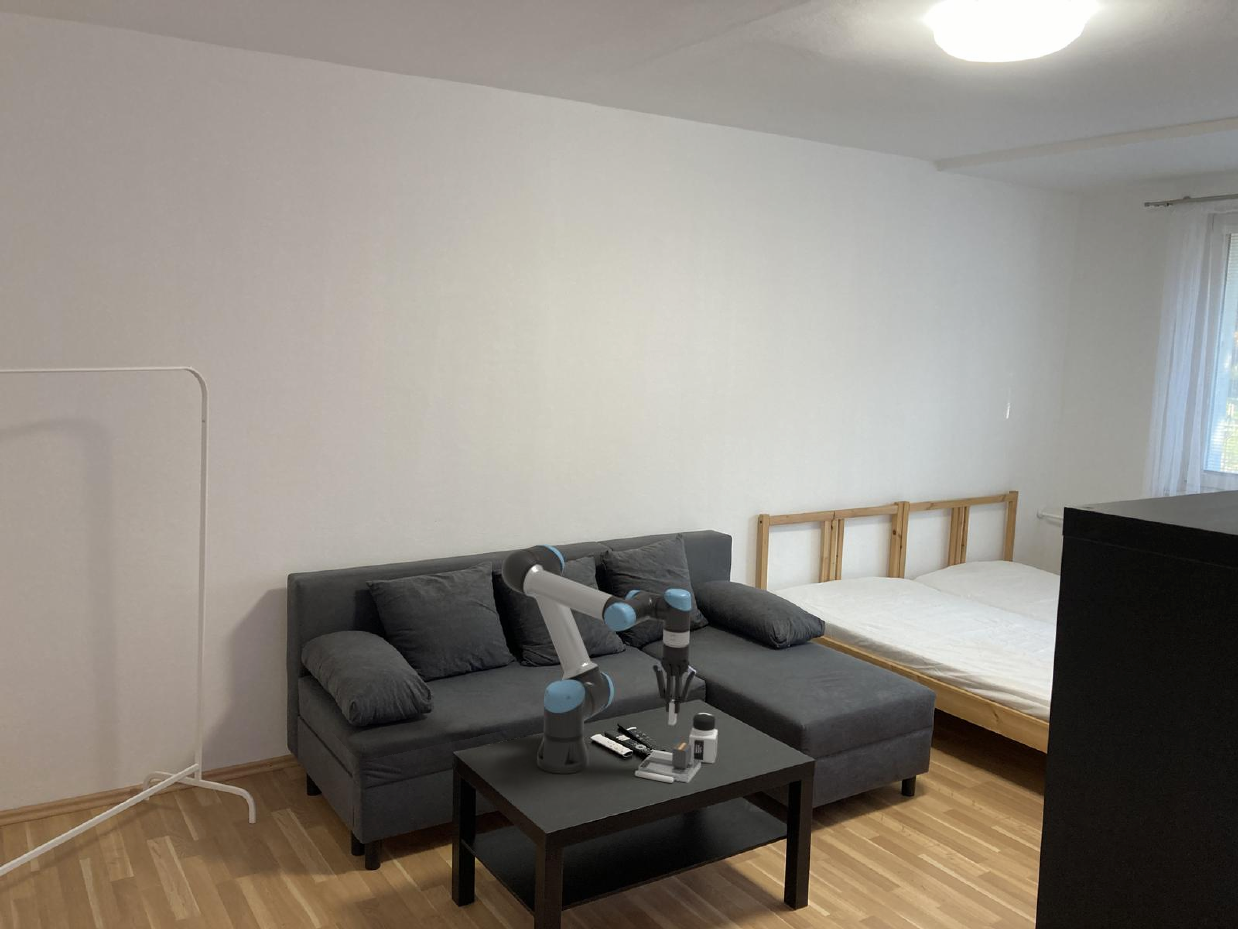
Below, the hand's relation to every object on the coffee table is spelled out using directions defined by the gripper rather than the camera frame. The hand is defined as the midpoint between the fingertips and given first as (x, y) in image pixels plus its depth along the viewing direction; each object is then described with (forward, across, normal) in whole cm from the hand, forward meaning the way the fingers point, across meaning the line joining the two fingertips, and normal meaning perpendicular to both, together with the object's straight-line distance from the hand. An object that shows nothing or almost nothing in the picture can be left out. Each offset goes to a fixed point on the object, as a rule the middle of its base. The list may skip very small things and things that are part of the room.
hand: (672, 723), depth 287 cm
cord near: (+14, -2, -8) cm, 16 cm away
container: (+14, +6, +13) cm, 20 cm away
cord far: (+14, -6, +8) cm, 17 cm away
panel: (+14, 0, 0) cm, 14 cm away
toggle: (+11, +3, 0) cm, 12 cm away
